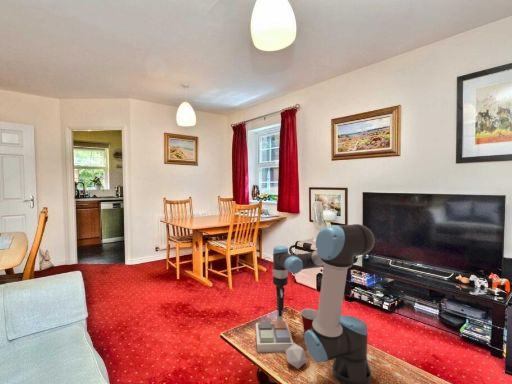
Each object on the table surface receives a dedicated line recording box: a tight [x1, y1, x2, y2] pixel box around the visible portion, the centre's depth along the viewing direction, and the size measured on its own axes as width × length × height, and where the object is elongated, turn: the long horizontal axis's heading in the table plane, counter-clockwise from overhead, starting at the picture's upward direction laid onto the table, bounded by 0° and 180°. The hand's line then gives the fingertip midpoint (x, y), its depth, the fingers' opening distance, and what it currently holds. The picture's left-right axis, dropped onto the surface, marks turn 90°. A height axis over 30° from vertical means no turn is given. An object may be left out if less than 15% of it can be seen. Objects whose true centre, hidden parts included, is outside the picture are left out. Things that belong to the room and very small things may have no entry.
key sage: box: [260, 330, 274, 343], centre depth 138 cm, size 7×6×3 cm
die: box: [284, 342, 308, 370], centre depth 124 cm, size 8×9×10 cm
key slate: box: [275, 330, 289, 343], centre depth 138 cm, size 7×6×3 cm
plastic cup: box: [300, 308, 318, 334], centre depth 147 cm, size 11×11×12 cm
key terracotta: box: [272, 320, 287, 331], centre depth 147 cm, size 7×6×3 cm
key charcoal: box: [258, 320, 272, 330], centre depth 147 cm, size 7×6×3 cm
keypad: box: [255, 322, 295, 354], centre depth 143 cm, size 20×17×4 cm
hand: (279, 321), depth 147 cm, fingers closed
